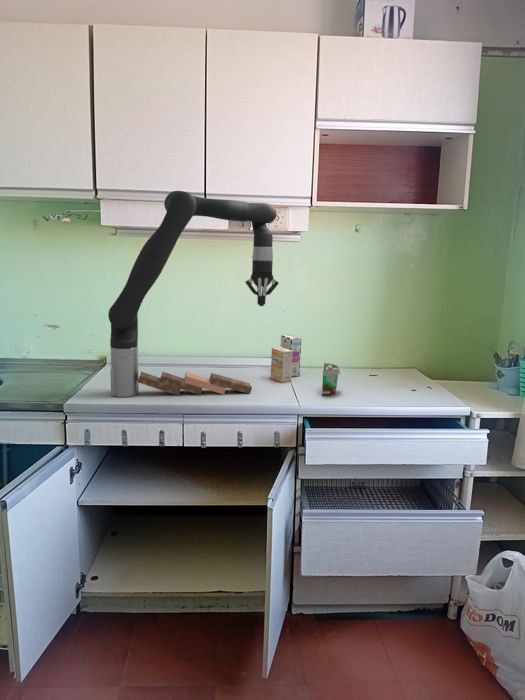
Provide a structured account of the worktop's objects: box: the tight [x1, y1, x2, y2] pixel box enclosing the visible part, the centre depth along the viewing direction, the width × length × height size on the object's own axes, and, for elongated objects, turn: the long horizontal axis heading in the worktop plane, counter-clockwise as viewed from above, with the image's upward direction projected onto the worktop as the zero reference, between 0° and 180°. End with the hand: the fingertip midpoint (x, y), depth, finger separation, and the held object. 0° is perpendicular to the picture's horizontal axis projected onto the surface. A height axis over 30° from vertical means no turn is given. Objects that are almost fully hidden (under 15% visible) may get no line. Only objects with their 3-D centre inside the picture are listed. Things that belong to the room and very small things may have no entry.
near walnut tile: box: [138, 371, 182, 396], centre depth 177 cm, size 2×6×15 cm
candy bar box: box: [280, 334, 302, 378], centre depth 210 cm, size 11×5×16 cm, turn 21°
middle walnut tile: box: [159, 371, 203, 396], centre depth 178 cm, size 2×6×15 cm
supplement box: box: [270, 346, 293, 384], centre depth 199 cm, size 8×5×13 cm, turn 36°
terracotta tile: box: [183, 372, 227, 395], centre depth 180 cm, size 2×6×15 cm
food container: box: [321, 362, 341, 397], centre depth 184 cm, size 12×6×10 cm, turn 171°
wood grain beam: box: [208, 372, 253, 394], centre depth 181 cm, size 2×6×15 cm
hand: (261, 305), depth 187 cm, fingers closed
